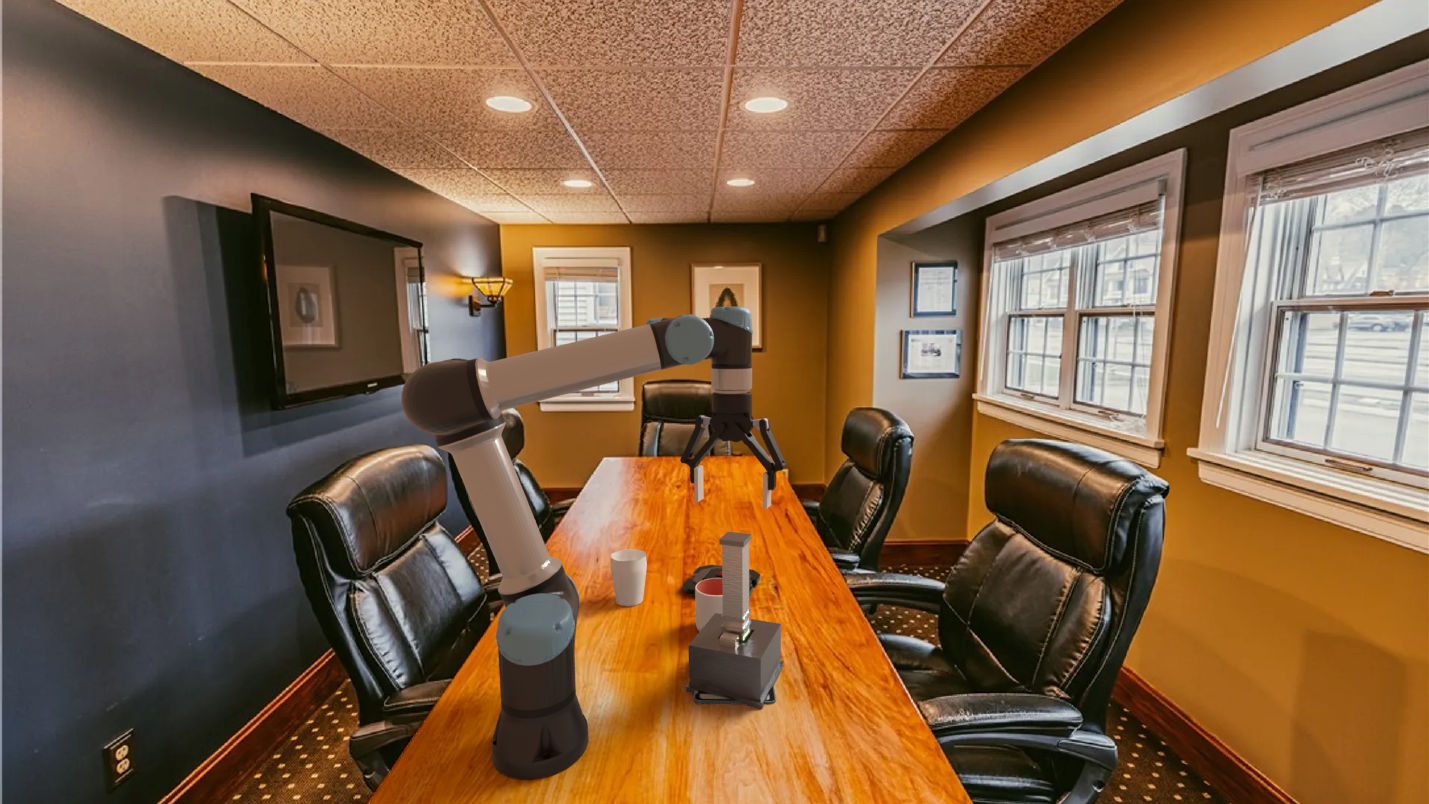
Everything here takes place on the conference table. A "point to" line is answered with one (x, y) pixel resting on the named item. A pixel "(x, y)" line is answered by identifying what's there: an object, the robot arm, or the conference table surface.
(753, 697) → the housing
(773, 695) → the smartphone
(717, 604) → the cup
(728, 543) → the column
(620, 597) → the cup
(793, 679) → the conference table surface
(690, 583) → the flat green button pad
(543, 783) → the conference table surface
